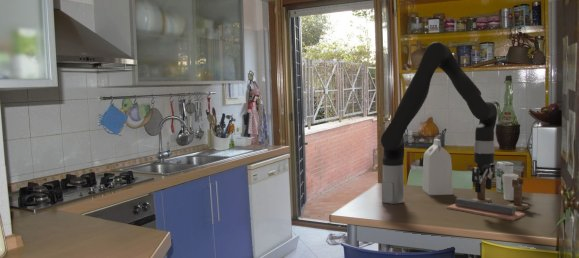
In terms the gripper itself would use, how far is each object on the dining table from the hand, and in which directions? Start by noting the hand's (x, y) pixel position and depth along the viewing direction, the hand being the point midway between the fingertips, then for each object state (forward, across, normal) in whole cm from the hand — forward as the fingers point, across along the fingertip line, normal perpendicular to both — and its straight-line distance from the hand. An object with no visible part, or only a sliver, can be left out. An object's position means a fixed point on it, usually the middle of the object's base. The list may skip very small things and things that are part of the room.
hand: (483, 190), depth 195 cm
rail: (+8, 0, 0) cm, 8 cm away
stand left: (+9, -15, -9) cm, 20 cm away
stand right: (+9, -16, +7) cm, 19 cm away
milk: (+10, -20, -34) cm, 41 cm away
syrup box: (+9, -40, -10) cm, 43 cm away
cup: (+9, -28, -2) cm, 30 cm away
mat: (+9, 0, 0) cm, 9 cm away
